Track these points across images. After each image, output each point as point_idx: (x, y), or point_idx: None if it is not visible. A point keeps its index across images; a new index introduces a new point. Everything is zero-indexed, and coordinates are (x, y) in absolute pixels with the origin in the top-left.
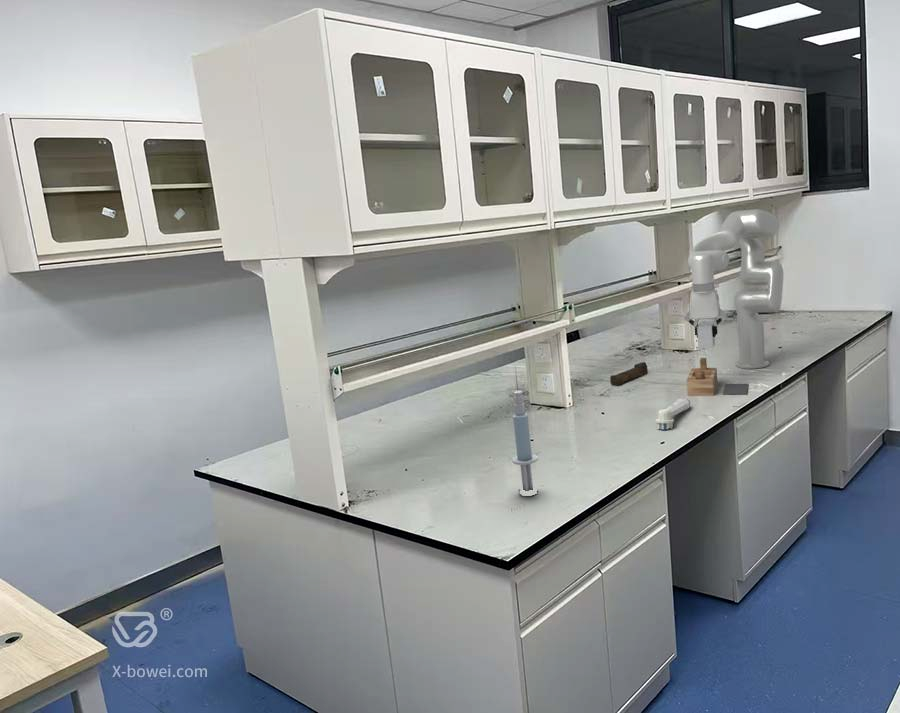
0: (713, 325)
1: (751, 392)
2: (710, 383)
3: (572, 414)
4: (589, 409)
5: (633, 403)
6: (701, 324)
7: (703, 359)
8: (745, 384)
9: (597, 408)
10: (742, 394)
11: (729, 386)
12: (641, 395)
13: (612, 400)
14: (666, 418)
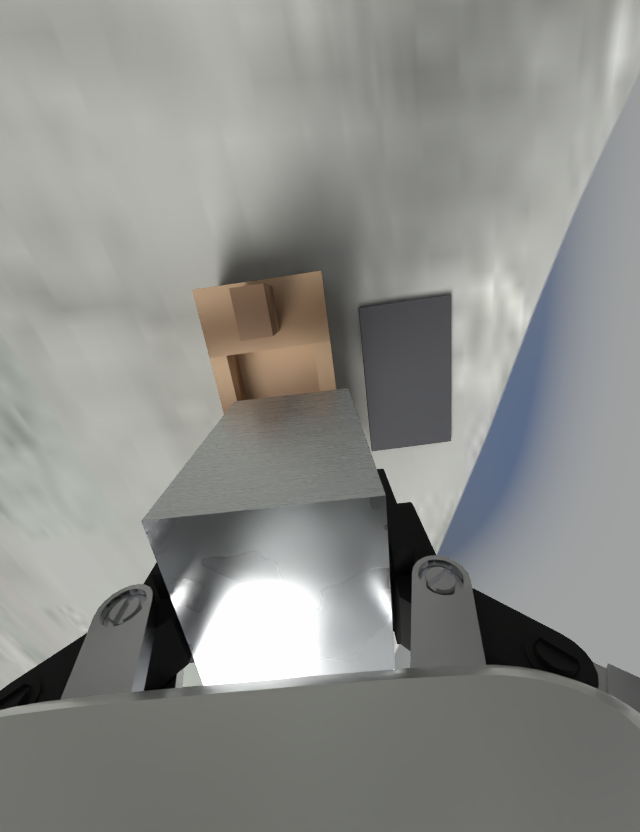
0: (404, 632)
1: (463, 409)
2: None
3: (25, 658)
4: (38, 621)
5: (127, 562)
6: (214, 598)
7: (258, 330)
8: (440, 313)
9: (54, 612)
10: (435, 442)
11: (381, 351)
12: (103, 483)
13: (44, 543)
14: None
